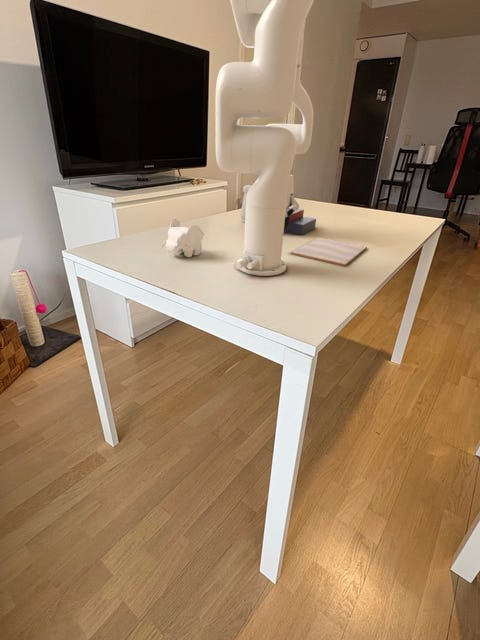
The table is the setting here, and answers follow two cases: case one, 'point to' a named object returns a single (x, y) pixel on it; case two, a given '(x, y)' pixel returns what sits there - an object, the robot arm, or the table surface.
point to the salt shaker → (244, 203)
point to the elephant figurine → (184, 239)
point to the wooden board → (330, 251)
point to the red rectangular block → (296, 214)
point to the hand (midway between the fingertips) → (275, 225)
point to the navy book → (301, 225)
